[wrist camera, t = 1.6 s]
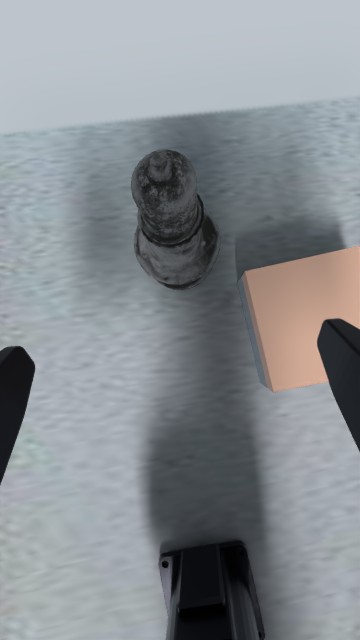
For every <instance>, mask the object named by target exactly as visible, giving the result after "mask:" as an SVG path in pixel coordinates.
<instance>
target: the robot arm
mask: <svg viewBox="0 0 360 640" xmlns="http://www.w3.org/2000/svg"><path fill="white" fill-rule="evenodd" d="M317 347H318V350H319V353H320V357H321V360H322V363H323V366H324V369H325V372H326V375H327V378H328V381H329V384H330V387H331V390H332V392H333V395H334V397H335V400H336V402H337V404H338V406H339V408H340V410H341V413H342V415H343V417H344V419H345V421H346V423H347V426H348V428H349V430H350V432H351V434H352V436H353V438H354V441H355V443H356V445H357V447H358V449H359V451H360V329H359V328H357V327H355V326H353V325H352V324H350V323H348V322H346V321H345V320H343V319H340V318H334V319H326V320H324V321H323V323H322V326H321V329H320V332H319V335H318V338H317ZM34 373H35V364H34V362H33V360H32V359H31V358H30V356H29V355H28V353H27V352H26V351H25V349H24V348H23V347H21V346H11V347H6V348H4V349H3V350H1V351H0V485H1V482H2V479H3V476H4V473H5V470H6V467H7V464H8V462H9V459H10V456H11V453H12V450H13V447H14V444H15V441H16V439H17V436H18V433H19V430H20V427H21V424H22V421H23V418H24V415H25V411H26V407H27V403H28V399H29V394H30V390H31V386H32V381H33V377H34ZM237 549H242V551H240V552H239V551H237ZM163 561H167V562H168V563H167V564H166V563H164V562H163ZM159 570H160V576H161V581H162V586H163V592H164V597H165V602H166V608H167V613H168V624H167V633H166V640H264V638H265V633H264V628H263V624H262V619H261V614H260V610H259V605H258V600H257V596H256V591H255V586H254V582H253V577H252V573H251V568H250V563H249V559H248V554H247V549H246V546H245V544H244V543H243V542H242V541H233V542H227V543H221V544H212V545H206V546H200V547H194V548H188V549H184V550H179V551H173V552H167V553H163V554H162V555H161V556H160V558H159ZM258 631H259V632H258Z"/></svg>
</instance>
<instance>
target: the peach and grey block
mask: <svg viewBox="0 0 360 640" xmlns="http://www.w3.org/2000/svg"><path fill="white" fill-rule="evenodd" d="M237 283H238V287H239V291H240V296H241V300H242V304H243V309H244V313H245V317H246V322H247V326H248V330H249V335H250V339H251V343H252V348H253V352H254V356H255V361H256V365H257V369H258V373H259V378H260V382H261V384H263V385H264V386H266V387H267V388H268V389H270V390H271V391H273V392H277V391H282V390H287V389H293V388H298V387H303V386H308V385H313V384H318V383H323V382H328V378H327V375H326V372H325V369H324V366H323V363H322V360H321V357H320V353H319V350H318V347H317V338H318V335H319V332H320V329H321V326H322V323H323V321H324V320H326V319H334V318H340V319H343V320H345V321H346V322H348V323H350V324H352V325H353V326H355V327H357V328H359V329H360V246H356V247H351V248H347V249H342V250H338V251H333V252H329V253H324V254H320V255H315V256H311V257H306V258H302V259H297V260H293V261H288V262H284V263H279V264H275V265H270V266H266V267H261V268H257V269H252V270H248V271H245V272H244V274H243V275H242V276H241V278H240V279H239V281H238V282H237Z"/></svg>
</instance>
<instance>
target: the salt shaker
mask: <svg viewBox="0 0 360 640" xmlns="http://www.w3.org/2000/svg"><path fill="white" fill-rule="evenodd" d="M131 189H132V195H133V198H134V200H135V203H136V205H137V207H138V218H137V219H138V227H137V230H136V233H135V239H134V248H135V253H136V257H137V259H138V261H139V263H140V265H141V267H142V268H143V269H144V270H145V271H146V272H147V274H148V275H150V276H151V277H153V278H154V279H156V280H157V281H158V282H159V283H161V284H163V285H164V286H166V287H168V288H171V289H177V290H184V289H189V288H192V287H194V286H196V285H198V284H199V283H201V282H202V281H203V280H204V279H205V278H206V276H207V275H208V273H209V272H210V269H211V267H212V265H213V264H214V262H215V261H216V259H217V256H218V253H219V250H220V233H219V229H218V226H217V224H216V222H215V220H214V218H213V217H212V216H211V214H210V213H209V212H208V211H207V210H206V209H205V208H204V206H203V202H202V200H201V198H200V196H199V195H198V194H197V179H196V174H195V171H194V168H193V167H192V165H191V163H190V161H189V160H188V159H187V158H186V157H185V156H183V155H182V154H180V153H178V152H175V151H171V150H158V151H154V152H152V153H150V154H148V155H147V156H146V157H144V158H143V159H142V160H141V161H140V162H139V163H138V165H137V166H136V168H135V170H134V172H133V175H132V181H131Z"/></svg>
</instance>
